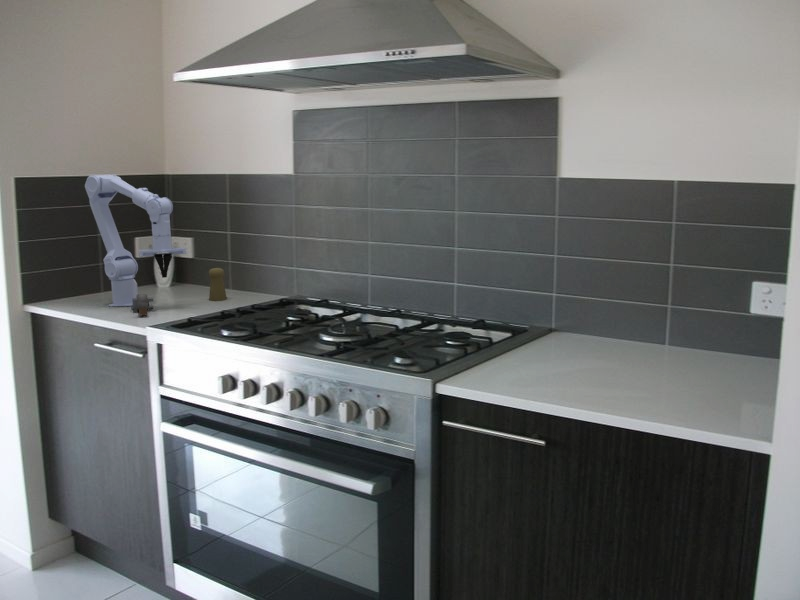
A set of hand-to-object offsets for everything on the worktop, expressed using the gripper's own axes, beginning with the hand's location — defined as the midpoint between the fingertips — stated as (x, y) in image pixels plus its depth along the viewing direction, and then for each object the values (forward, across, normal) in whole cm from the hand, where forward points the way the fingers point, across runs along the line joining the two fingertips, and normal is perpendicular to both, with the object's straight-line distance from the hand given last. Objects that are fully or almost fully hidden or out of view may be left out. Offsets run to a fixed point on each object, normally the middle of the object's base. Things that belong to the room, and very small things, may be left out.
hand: (164, 277), depth 261 cm
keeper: (+10, -7, -2) cm, 13 cm away
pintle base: (+10, -7, +3) cm, 13 cm away
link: (+10, -8, -4) cm, 13 cm away
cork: (+11, +18, +10) cm, 23 cm away
